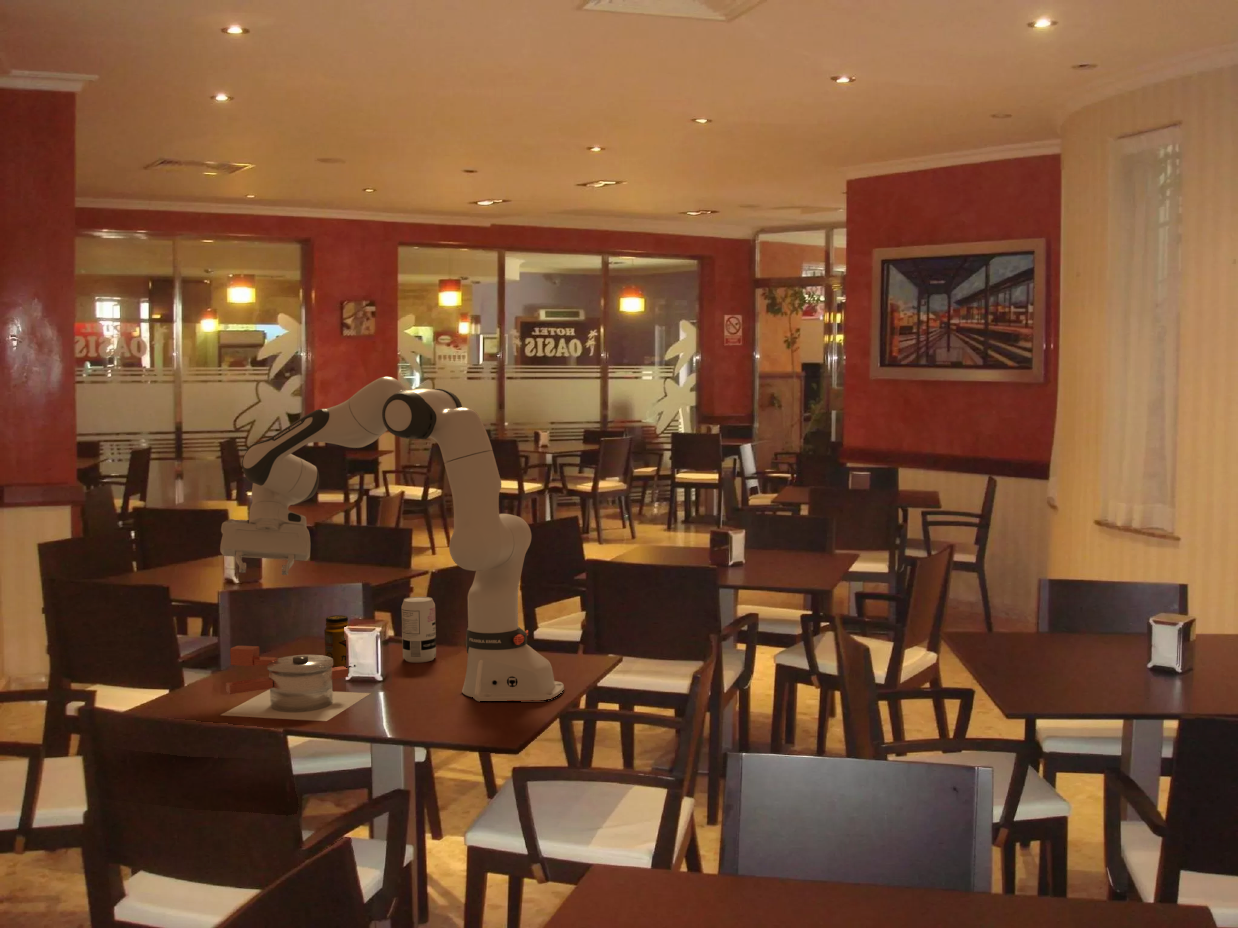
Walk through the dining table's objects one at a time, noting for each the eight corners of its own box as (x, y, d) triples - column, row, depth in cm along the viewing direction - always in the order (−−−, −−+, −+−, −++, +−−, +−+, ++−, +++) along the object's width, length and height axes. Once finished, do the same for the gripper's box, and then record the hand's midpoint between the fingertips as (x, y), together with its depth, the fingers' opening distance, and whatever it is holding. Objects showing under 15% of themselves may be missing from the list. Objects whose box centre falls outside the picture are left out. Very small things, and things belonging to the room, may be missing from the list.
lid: (343, 660, 278) (343, 644, 278) (315, 675, 265) (315, 658, 265) (250, 656, 283) (249, 640, 283) (217, 671, 270) (217, 654, 270)
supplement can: (400, 656, 318) (399, 597, 317) (433, 654, 321) (432, 595, 320) (405, 664, 311) (403, 603, 309) (438, 661, 313) (437, 601, 312)
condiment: (356, 666, 309) (355, 617, 308) (323, 671, 305) (321, 621, 304) (345, 660, 315) (344, 612, 314) (312, 665, 311) (310, 616, 310)
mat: (370, 694, 282) (370, 693, 282) (326, 722, 261) (326, 720, 261) (271, 689, 287) (271, 688, 287) (220, 716, 266) (220, 714, 266)
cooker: (352, 696, 280) (351, 660, 279) (311, 721, 260) (310, 682, 260) (269, 691, 284) (267, 656, 284) (222, 716, 265) (220, 678, 264)
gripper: (222, 511, 296) (216, 562, 288) (312, 517, 301) (309, 567, 293) (222, 525, 301) (216, 576, 293) (311, 531, 306) (307, 581, 298)
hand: (263, 572), depth 293 cm, fingers open, 8 cm apart
